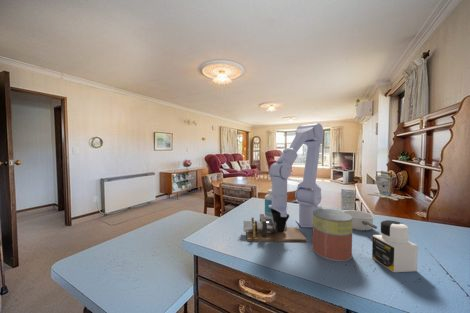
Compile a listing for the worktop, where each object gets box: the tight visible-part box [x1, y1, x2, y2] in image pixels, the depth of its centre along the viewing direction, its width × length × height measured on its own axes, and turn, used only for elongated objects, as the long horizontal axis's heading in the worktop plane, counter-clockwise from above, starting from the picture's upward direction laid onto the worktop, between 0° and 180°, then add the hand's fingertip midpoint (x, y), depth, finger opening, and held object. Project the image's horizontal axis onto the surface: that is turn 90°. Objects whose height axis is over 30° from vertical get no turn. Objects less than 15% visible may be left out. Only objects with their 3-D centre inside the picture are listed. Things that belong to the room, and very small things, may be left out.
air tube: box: [243, 220, 288, 233], centre depth 73 cm, size 16×5×5 cm, turn 90°
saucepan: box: [342, 209, 378, 232], centre depth 77 cm, size 12×20×6 cm, turn 169°
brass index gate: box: [251, 216, 257, 237], centre depth 73 cm, size 2×9×5 cm, turn 0°
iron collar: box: [259, 213, 268, 237], centre depth 73 cm, size 2×8×6 cm, turn 0°
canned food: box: [312, 208, 353, 262], centre depth 61 cm, size 11×11×12 cm
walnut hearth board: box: [246, 226, 308, 243], centre depth 73 cm, size 21×11×1 cm, turn 90°
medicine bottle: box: [371, 219, 419, 273], centre depth 54 cm, size 7×7×12 cm
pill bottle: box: [264, 188, 273, 221], centre depth 92 cm, size 8×7×14 cm
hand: (278, 229), depth 73 cm, fingers closed on air tube, 4 cm apart
